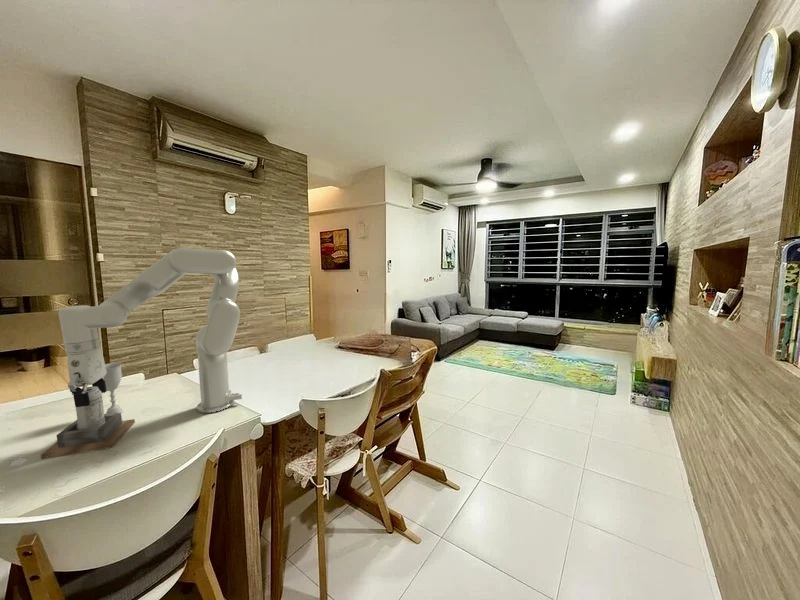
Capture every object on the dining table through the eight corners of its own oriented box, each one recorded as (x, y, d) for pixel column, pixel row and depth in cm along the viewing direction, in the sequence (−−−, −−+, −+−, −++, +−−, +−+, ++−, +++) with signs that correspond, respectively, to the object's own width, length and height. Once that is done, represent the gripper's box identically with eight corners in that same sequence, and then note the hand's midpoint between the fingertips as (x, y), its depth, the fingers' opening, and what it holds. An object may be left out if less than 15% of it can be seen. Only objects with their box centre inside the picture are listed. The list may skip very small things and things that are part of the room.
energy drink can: (99, 428, 104) (94, 384, 102) (110, 432, 102) (105, 387, 100) (75, 437, 99) (69, 391, 97) (86, 441, 96) (80, 394, 95)
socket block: (134, 422, 111) (133, 408, 110) (111, 447, 96) (110, 431, 95) (75, 430, 105) (73, 415, 104) (41, 458, 90) (38, 441, 90)
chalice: (111, 418, 113) (105, 369, 111) (96, 416, 115) (90, 368, 112) (132, 409, 120) (127, 363, 118) (117, 407, 122) (112, 362, 120)
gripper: (81, 352, 90) (91, 409, 93) (112, 338, 106) (119, 386, 109) (47, 356, 88) (58, 414, 90) (83, 340, 104) (92, 390, 106)
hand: (92, 399), depth 99 cm, fingers open, 9 cm apart
